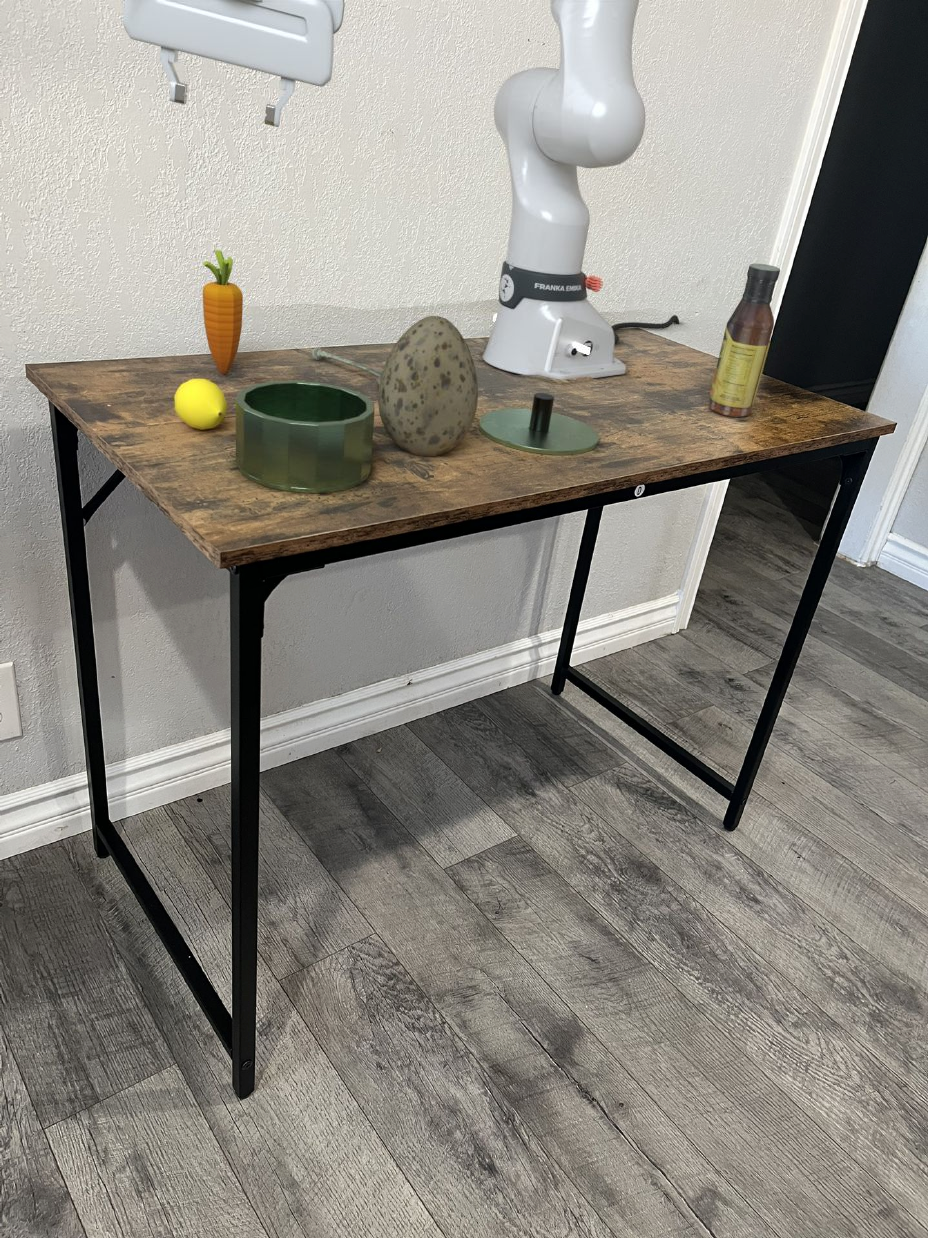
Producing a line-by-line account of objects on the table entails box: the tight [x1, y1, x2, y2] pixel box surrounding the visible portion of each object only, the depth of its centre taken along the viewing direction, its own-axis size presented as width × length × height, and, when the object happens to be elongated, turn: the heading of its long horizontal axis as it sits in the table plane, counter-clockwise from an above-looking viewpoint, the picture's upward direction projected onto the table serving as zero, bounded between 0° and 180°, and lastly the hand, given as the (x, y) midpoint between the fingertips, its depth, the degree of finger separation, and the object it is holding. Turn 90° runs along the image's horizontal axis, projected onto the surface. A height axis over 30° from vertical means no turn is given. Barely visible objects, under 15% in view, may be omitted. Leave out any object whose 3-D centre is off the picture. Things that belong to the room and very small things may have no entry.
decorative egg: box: [377, 315, 479, 457], centre depth 102 cm, size 11×11×15 cm
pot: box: [235, 380, 375, 494], centre depth 96 cm, size 14×14×7 cm
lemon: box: [173, 378, 228, 431], centre depth 103 cm, size 7×5×5 cm
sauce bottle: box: [708, 263, 781, 418], centre depth 129 cm, size 7×6×20 cm
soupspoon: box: [311, 347, 382, 385], centre depth 126 cm, size 22×3×7 cm
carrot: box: [202, 249, 244, 376], centre depth 118 cm, size 5×5×15 cm
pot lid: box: [478, 392, 600, 456], centre depth 113 cm, size 15×15×5 cm
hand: (225, 113), depth 97 cm, fingers open, 8 cm apart
